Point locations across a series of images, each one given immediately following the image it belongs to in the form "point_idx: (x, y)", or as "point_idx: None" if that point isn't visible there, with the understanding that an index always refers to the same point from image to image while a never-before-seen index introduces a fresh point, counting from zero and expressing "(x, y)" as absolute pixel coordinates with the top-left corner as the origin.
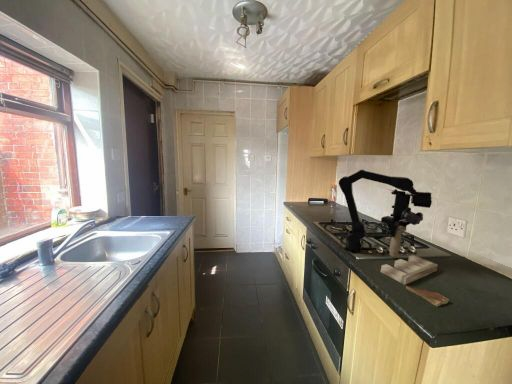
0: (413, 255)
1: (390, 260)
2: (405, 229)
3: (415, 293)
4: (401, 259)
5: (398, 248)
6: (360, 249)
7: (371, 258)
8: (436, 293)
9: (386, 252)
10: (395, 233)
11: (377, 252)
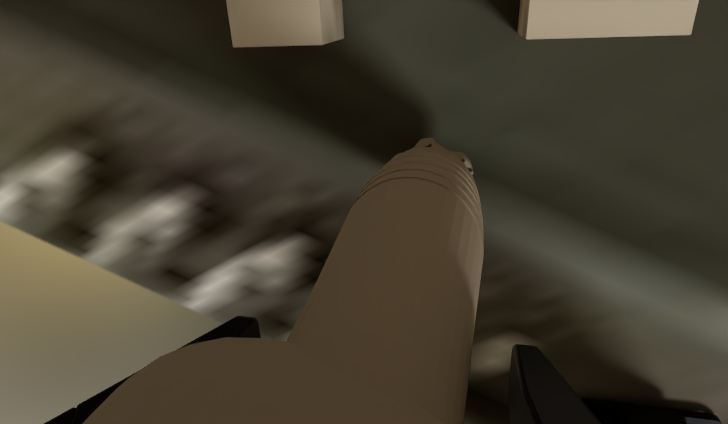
0: (243, 30)
1: (500, 152)
2: (237, 386)
3: None
4: (537, 24)
5: (427, 167)
6: (629, 420)
7: (655, 274)
8: None
9: None
10: (552, 420)
11: None
